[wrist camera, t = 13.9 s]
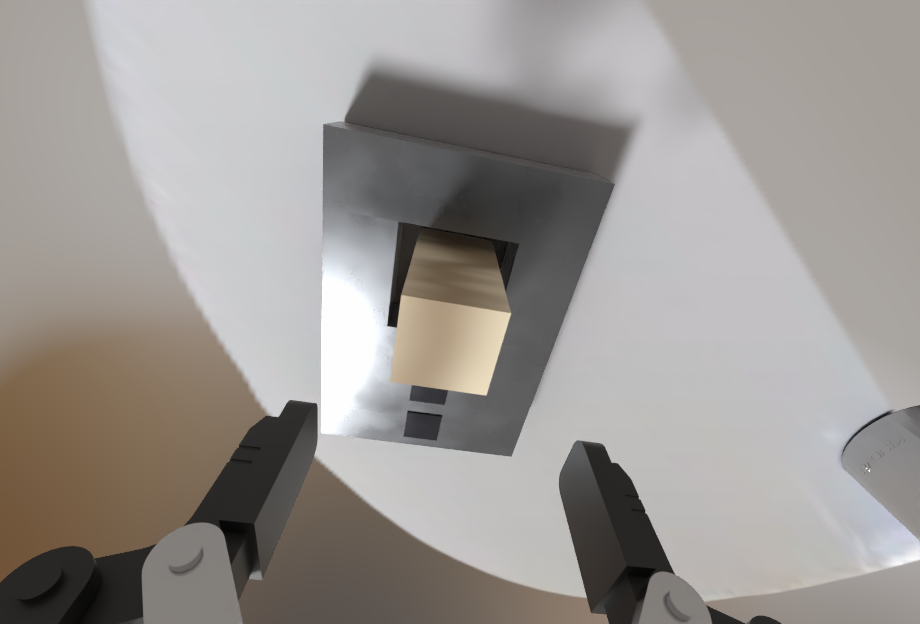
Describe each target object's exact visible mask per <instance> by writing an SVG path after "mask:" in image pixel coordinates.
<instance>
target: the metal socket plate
mask: <svg viewBox="0 0 920 624" xmlns="http://www.w3.org/2000/svg"><path fill="white" fill-rule="evenodd" d="M614 185H615V184H614V183H612V182H610V181H608V180H606V179H604V178H602V177H600V176H598V175H596V174H593V173H588V172H584V171H579V170H574V169H569V168H564V167H559V166H554V165H550V164H545V163H540V162H535V161H530V160H525V159H521V158H516V157H511V156H506V155H501V154H496V153H492V152H487V151H482V150H477V149H472V148H467V147H463V146H458V145H453V144H448V143H443V142H438V141H433V140H429V139H424V138H419V137H414V136H409V135H404V134H400V133H395V132H390V131H385V130H380V129H375V128H371V127H366V126H361V125H356V124H351V123H346V122H335V123H328V124H323V258H322V394H321V433H324V434H333V435H341V436H349V437H357V438H365V439H373V440H381V441H389V442H397V443H405V444H414V445H422V446H430V447H438V448H446V449H454V450H462V451H470V452H478V453H486V454H494V455H503V456H512V453H513V451H514V448H515V446H516V443H517V440H518V438H519V435H520V432H521V430H522V427H523V424H524V422H525V419H526V417H527V414H528V411H529V409H530V406H531V403H532V401H533V398H534V395H535V393H536V390H537V388H538V385H539V382H540V380H541V377H542V374H543V372H544V369H545V367H546V364H547V361H548V359H549V356H550V353H551V351H552V348H553V345H554V343H555V340H556V338H557V335H558V332H559V330H560V327H561V324H562V322H563V319H564V316H565V314H566V311H567V309H568V306H569V303H570V301H571V298H572V295H573V293H574V290H575V288H576V285H577V282H578V280H579V277H580V274H581V272H582V269H583V266H584V264H585V261H586V259H587V256H588V253H589V251H590V248H591V245H592V243H593V240H594V238H595V235H596V232H597V230H598V227H599V224H600V222H601V219H602V216H603V214H604V211H605V209H606V206H607V203H608V201H609V198H610V195H611V193H612V190H613V187H614ZM404 223H409V224H415V225H420V226H426V227H431V228H437V229H442V230H448V231H453V232H459V233H464V234H470V235H475V236H481V237H486V238H491V239H497V240H502V241H508V244H507V248H506V252H505V255H504V259H503V263H502V267H501V271H500V273H501V277H502V280H503V284H504V288H505V292H506V296H507V299H508V303H509V307H510V311H511V316H510V319H509V322H508V325H507V329H506V332H505V335H504V339H503V342H502V345H501V349H500V352H499V355H498V359H497V362H496V365H495V369H494V372H493V375H492V379H491V382H490V385H489V389H488V392H487V395H479V394H472V393H465V392H458V391H451V390H443V389H436V388H429V387H422V386H415V385H408V384H401V383H394V382H390V378H391V370H392V362H393V355H394V347H395V339H396V332H397V324H398V316H399V308H400V303H395V294H396V285H397V277H398V268H399V260H400V251H401V242H402V234H403V225H404Z"/></svg>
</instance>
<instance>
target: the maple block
mask: <svg viewBox="0 0 920 624" xmlns="http://www.w3.org/2000/svg"><path fill="white" fill-rule="evenodd" d="M510 316H511V311H510V307H509V303H508V299H507V296H506V292H505V288H504V284H503V280H502V277H501V273H500V269H499V265H498V261H497V257H496V254H495V250H494V246H493V242H492V241H491V240H486V239H481V238H475V237H470V236H464V235H459V234H454V233H448V232H443V231H438V230H432V229H427V228H420V232H419V235H418V239H417V242H416V246H415V249H414V253H413V256H412V259H411V263H410V266H409V270H408V273H407V277H406V280H405V284H404V287H403V291H402V294H401V301H400V308H399V316H398V324H397V332H396V339H395V347H394V355H393V362H392V370H391V378H390V382H394V383H401V384H408V385H415V386H422V387H429V388H436V389H443V390H451V391H458V392H465V393H472V394H479V395H487V392H488V389H489V385H490V382H491V379H492V375H493V372H494V369H495V365H496V362H497V359H498V355H499V352H500V349H501V345H502V342H503V339H504V335H505V332H506V329H507V325H508V322H509V319H510Z"/></svg>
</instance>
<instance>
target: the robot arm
mask: <svg viewBox="0 0 920 624" xmlns="http://www.w3.org/2000/svg"><path fill="white" fill-rule="evenodd" d="M317 437H318V436H317V404H316V403H309V402H302V401H294V400H290V401H289V402H288V403H287V404H286V406H285V407H284V409H283V411H282V413H281V414H280V416H279V417H272V416H265V417H264V418H263V419H262V420H260V421H259V422H258V423H256V424H255V425H254V426H253V427H251V428H250V429H249V431H248V432H247V434H246V435H245V437H244V438H243V440H242V441H241V443H240V444H239V448H237V449H236V450H235V452H234V454H233V455H232V457H231V458H230V462H228V463H227V464H226V466H225V467H224V469H223V470H222V472H221V474H220V475H219V476H218V478H217V480H216V481H215V482H214V484H213V486H212V487H211V489H210V490H209V492H208V493H207V495H206V496H205V498H204V499H203V501H202V502H201V504H200V505H199V507H198V508H197V510H196V512H195V513H194V515H193V516H192V517H191V519H190V520H189V521H188V522H187V523H186V524H185V525H184V526H183V527H181V528H179V529H177V530H175V531H173V532H172V533H170V534H168V535H167V536H166V537H164V538H163V539H162V540H161V541H160V542H159V543H157V544H155V545H152V546H150V547H147V548H143V549H139V550H134V551H130V552H125V553H120V554H115V555H110V556H105V557H101V558H96V559H94V557H93V556H92V554H91V553H90V552H89V551H88V550H86V549H84V548H82V547H76V546H68V547H61V548H57V549H54V550H50V551H48V552H45V553H43V554H40V555H38V556H36V557H34V558H32V559H30V560H29V561H27V562H25V563H24V564H22V565H21V566H19V567H18V568H17V569H15V570H14V571H13V572H11V573H10V574H9V575H8V576H7V577H6V578H5V579H4V580H3V581H2V582H1V583H0V624H243V621H242V617H241V611H240V607H239V602H238V601H239V599H240V597H241V594H242V592H243V590H244V588H245V585H246V584H247V581H248V579H257V580H262V579H263V577H264V574H265V572H266V570H267V567H268V565H269V563H270V560H271V558H272V556H273V553H274V551H275V548H276V546H277V544H278V541H279V539H280V537H281V534H282V532H283V529H284V527H285V525H286V522H287V520H288V517H289V515H290V513H291V510H292V508H293V506H294V503H295V501H296V498H297V496H298V494H299V491H300V489H301V486H302V484H303V482H304V479H305V477H306V475H307V472H308V470H309V467H310V465H311V463H312V460H313V457H314V454H315V451H316V446H317ZM842 466H843V467H844V469H845V470H846V472H848V473H849V474H850V475H851V476H852V477H853V478H854V479H855V480H856V481H857V482H858V483H859V484H860V485H861V486H862V487H863V488H865V489H866V490H867V491H868V492H869V493H870V494H871V495H872V496H873V497H874V498H875V499H876V500H877V501H878V502H879V503H880V504H882V505H883V506H884V507H885V508H886V509H887V510H888V511H889V512H890V513H891V514H892V515H893V516H894V517H895V518H896V519H897V520H898V521H899V522H900V523H901V524H902V525H904V526H905V527H906V528H907V529H908V530H909V531H910V532H911V533H912V534H913V535H914V536H915V537H916V538H917V539H918V540H920V405H919V406H914V407H910V408H906V409H903V410H900V411H897V412H895V413H892V414H890V415H887V416H885V417H883V418H881V419H879V420H877V421H875V422H874V423H872V424H871V425H869V426H868V427H866V428H865V429H863V430H862V431H861V432H860V433H859V434H857V435H856V436H855V437H854V438H853V439H852V440H851V442H850V443H849V444H848V445H847V447H846V449H845V450H844V452H843V456H842ZM559 490H560V494H561V498H562V502H563V506H564V510H565V514H566V518H567V522H568V525H569V529H570V533H571V537H572V541H573V545H574V549H575V553H576V556H577V560H578V564H579V568H580V572H581V576H582V580H583V584H584V588H585V591H586V595H587V599H588V603H589V607H590V611H591V613H597V614H607V618H608V621H609V624H745V623H743V622H741V621H739V620H736V619H734V618H732V617H730V616H728V615H726V614H723V613H721V612H719V611H717V610H715V609H713V608H710V607H709V606H707V605H705V603H704V601H703V600H702V598H701V597H700V595H699V594H698V593H697V592H696V591H695V589H694V588H693V587H692V586H690V585H689V584H688V583H687V582H686V581H685V580H683V579H682V578H680V577H678V576H676V575H675V573H674V571H673V570H672V568H671V565H670V563H669V561H668V559H667V557H666V555H665V552H664V550H663V548H662V546H661V544H660V541H659V539H658V537H657V535H656V533H655V531H654V528H653V526H652V524H651V522H650V520H649V517H648V515H647V514H645V509H644V506H643V504H642V502H641V500H639V496H638V493H637V491H636V489H635V487H634V485H633V482H632V480H631V479H630V477H629V476H628V475H627V474H626V473H625V471H624V470H623V469H622V468H621V467H620V465H619V464H617V463H611V460H610V458H609V456H608V453H607V451H606V449H605V447H604V446H603V445H602V444H600V443H593V442H586V441H576V442H575V443H574V445H573V447H572V449H571V451H570V453H569V455H568V457H567V459H566V461H565V464H564V466H563V468H562V470H561V472H560V477H559ZM746 624H781V623H779V622H778V621H776V620H774V619H772V618H770V617H766V616H756V617H754V618H752V619H751V620H750V621H749V622H748V623H746Z"/></svg>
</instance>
